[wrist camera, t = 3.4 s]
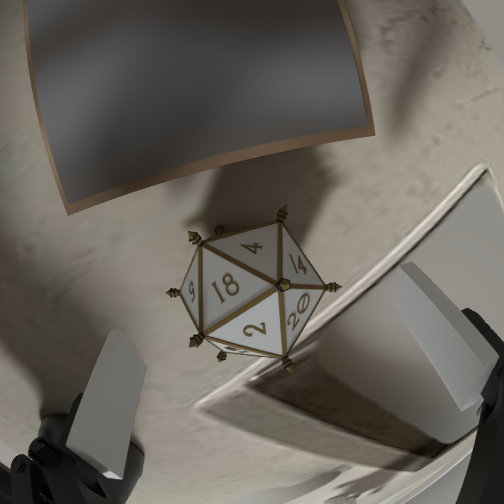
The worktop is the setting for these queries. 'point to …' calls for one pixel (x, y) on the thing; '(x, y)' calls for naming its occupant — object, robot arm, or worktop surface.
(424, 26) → the worktop surface
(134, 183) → the walnut framed square mirror
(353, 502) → the robot toy
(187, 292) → the game die
